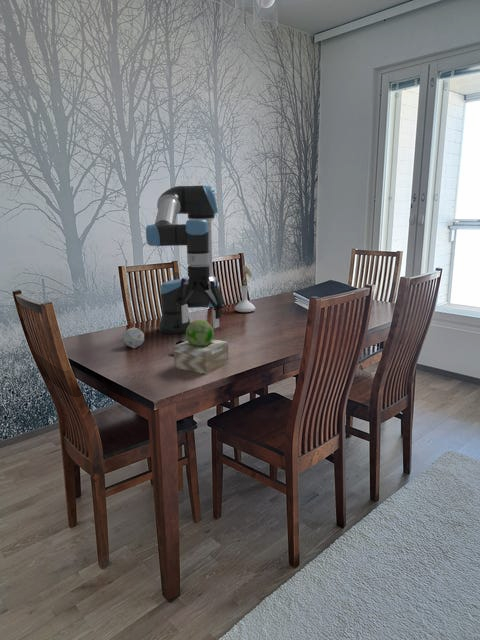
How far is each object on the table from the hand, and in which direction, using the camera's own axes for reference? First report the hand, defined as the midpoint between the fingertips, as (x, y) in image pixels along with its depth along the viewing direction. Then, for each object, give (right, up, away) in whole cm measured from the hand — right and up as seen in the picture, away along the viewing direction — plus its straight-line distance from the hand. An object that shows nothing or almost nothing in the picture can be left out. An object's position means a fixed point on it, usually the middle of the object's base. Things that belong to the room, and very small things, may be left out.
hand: (200, 324), depth 165 cm
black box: (-9, -12, +18) cm, 24 cm away
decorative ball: (0, -8, +2) cm, 8 cm away
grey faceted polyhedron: (-30, -10, +27) cm, 41 cm away
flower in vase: (+17, +6, +89) cm, 91 cm away
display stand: (0, -15, +3) cm, 15 cm away
